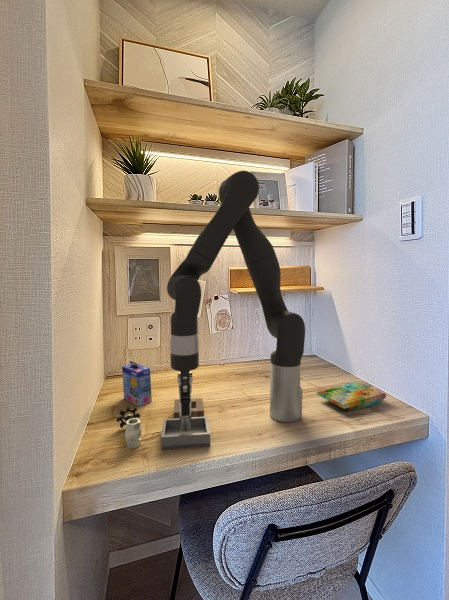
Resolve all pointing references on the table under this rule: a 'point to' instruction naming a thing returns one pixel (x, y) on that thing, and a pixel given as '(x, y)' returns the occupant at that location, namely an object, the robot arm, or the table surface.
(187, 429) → the pin
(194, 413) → the pin block
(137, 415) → the valve
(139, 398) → the ink cartridge box
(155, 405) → the table surface
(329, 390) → the puzzle game
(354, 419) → the table surface
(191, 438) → the tray
